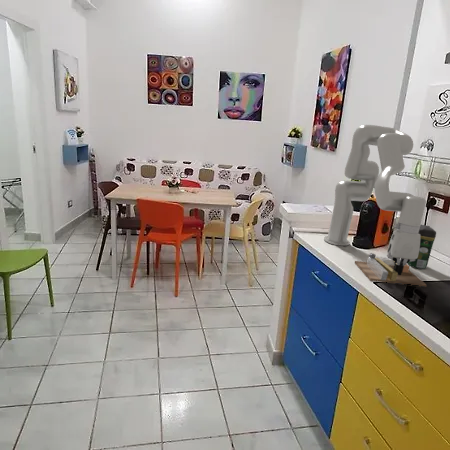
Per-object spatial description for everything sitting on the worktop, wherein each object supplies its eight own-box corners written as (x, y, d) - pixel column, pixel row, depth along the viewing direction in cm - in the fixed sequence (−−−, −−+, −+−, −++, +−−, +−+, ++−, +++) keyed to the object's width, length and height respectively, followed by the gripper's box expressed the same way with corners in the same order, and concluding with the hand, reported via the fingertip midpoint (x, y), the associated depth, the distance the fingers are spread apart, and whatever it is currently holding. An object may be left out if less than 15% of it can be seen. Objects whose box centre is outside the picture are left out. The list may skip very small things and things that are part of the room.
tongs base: (364, 262, 152) (366, 252, 151) (372, 263, 152) (374, 253, 151) (380, 280, 135) (383, 269, 134) (389, 281, 135) (392, 270, 134)
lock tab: (396, 270, 147) (398, 262, 146) (404, 271, 147) (406, 263, 146) (400, 273, 144) (402, 265, 143) (407, 274, 144) (409, 266, 143)
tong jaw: (372, 265, 149) (374, 257, 148) (376, 265, 149) (378, 258, 148) (390, 280, 135) (392, 272, 134) (395, 281, 135) (397, 273, 134)
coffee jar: (404, 260, 164) (414, 222, 159) (422, 263, 162) (433, 225, 157) (408, 267, 155) (419, 227, 150) (427, 271, 153) (439, 230, 148)
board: (354, 262, 153) (355, 258, 152) (404, 268, 153) (405, 264, 153) (369, 280, 136) (370, 275, 135) (426, 287, 136) (427, 282, 135)
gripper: (392, 229, 129) (382, 275, 134) (432, 233, 129) (420, 279, 134) (384, 224, 137) (374, 268, 141) (422, 228, 137) (411, 272, 141)
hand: (397, 273), depth 137 cm, fingers closed
